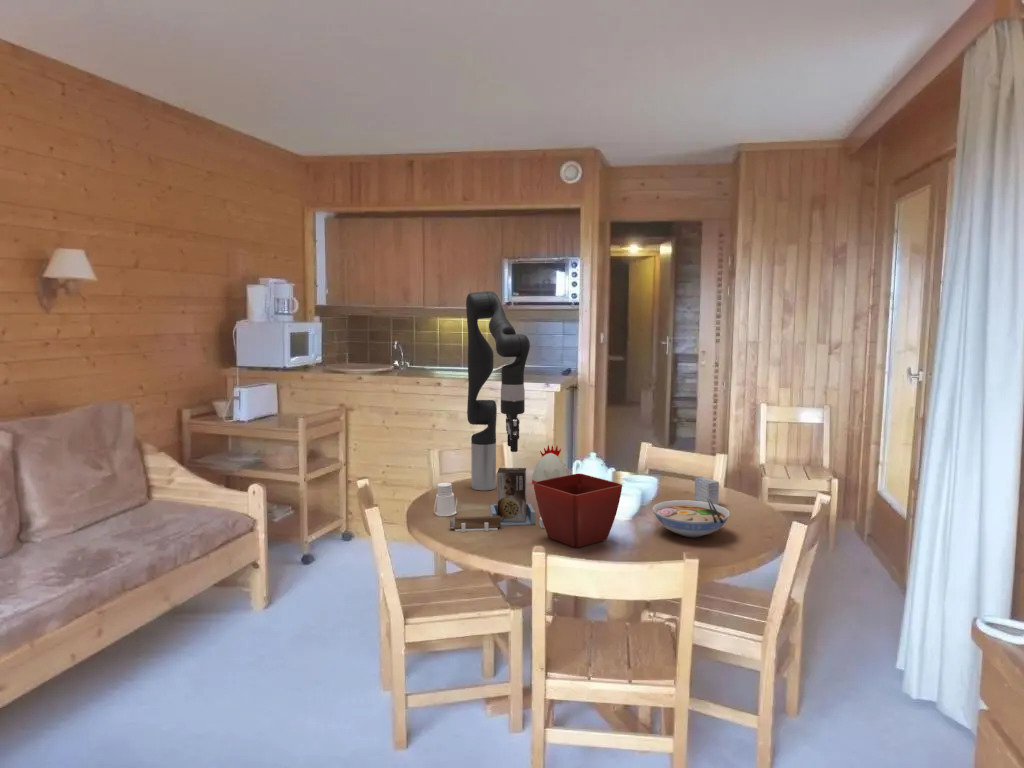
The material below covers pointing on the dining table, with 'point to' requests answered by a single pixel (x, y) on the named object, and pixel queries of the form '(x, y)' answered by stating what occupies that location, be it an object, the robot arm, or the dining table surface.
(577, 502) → the plant pot
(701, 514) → the ramen bowl
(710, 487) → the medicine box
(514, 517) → the cookie box
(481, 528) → the pin mount
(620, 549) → the dining table surface
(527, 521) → the dock
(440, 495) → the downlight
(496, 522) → the lock bar
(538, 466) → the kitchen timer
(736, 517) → the dining table surface
